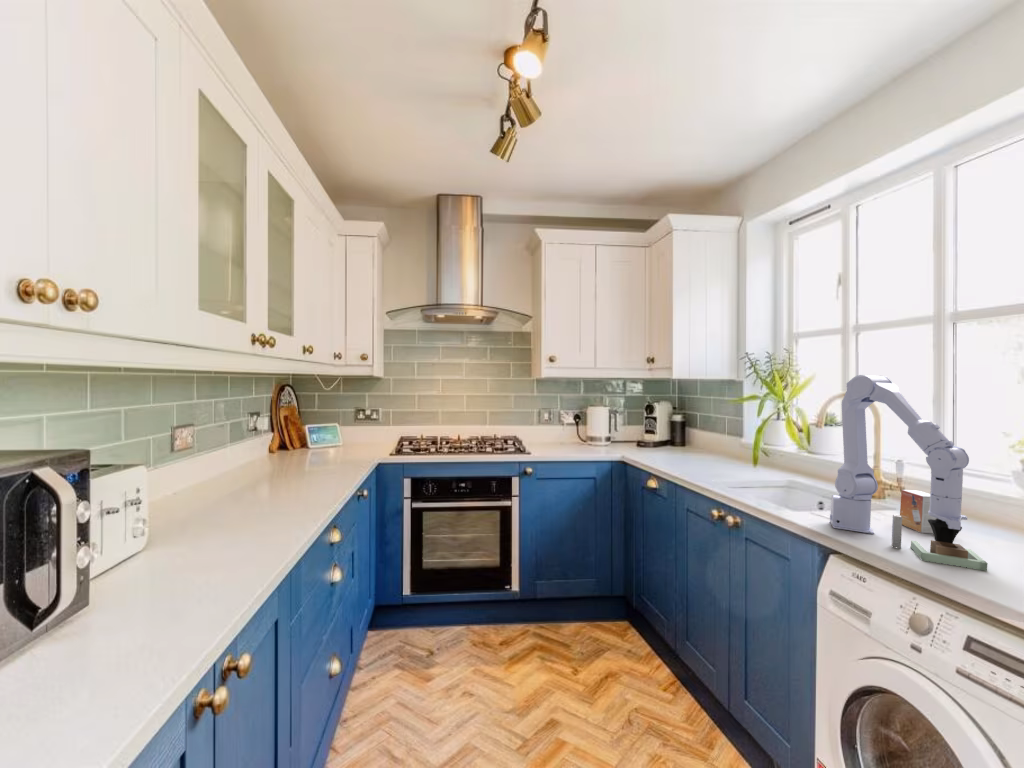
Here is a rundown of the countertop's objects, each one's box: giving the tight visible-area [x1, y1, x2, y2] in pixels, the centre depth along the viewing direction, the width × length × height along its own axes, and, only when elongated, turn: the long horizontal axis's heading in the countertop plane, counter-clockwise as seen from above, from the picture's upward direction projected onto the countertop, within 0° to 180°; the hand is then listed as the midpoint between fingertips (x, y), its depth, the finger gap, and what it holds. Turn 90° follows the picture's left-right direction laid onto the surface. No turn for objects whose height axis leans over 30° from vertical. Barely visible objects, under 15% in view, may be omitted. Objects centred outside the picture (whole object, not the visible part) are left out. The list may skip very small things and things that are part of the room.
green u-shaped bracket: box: [910, 540, 988, 572], centre depth 115 cm, size 11×10×2 cm
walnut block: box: [929, 539, 968, 559], centre depth 114 cm, size 5×5×4 cm
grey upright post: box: [891, 514, 903, 549], centre depth 122 cm, size 2×2×8 cm
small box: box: [899, 489, 937, 534], centre depth 138 cm, size 8×6×10 cm
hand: (943, 551), depth 117 cm, fingers closed
